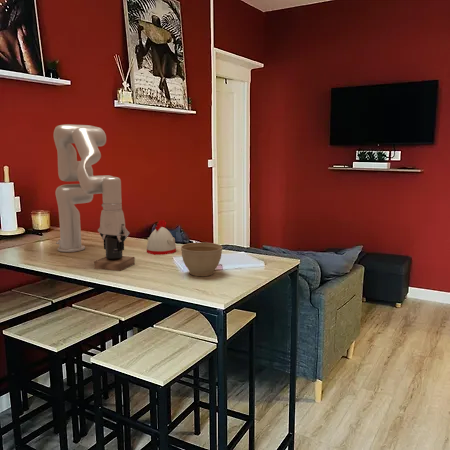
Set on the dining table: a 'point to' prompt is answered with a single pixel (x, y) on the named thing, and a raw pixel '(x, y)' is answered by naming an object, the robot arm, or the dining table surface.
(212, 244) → the planter bowl
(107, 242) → the supplement bottle
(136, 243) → the dining table surface
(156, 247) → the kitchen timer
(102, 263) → the base block
